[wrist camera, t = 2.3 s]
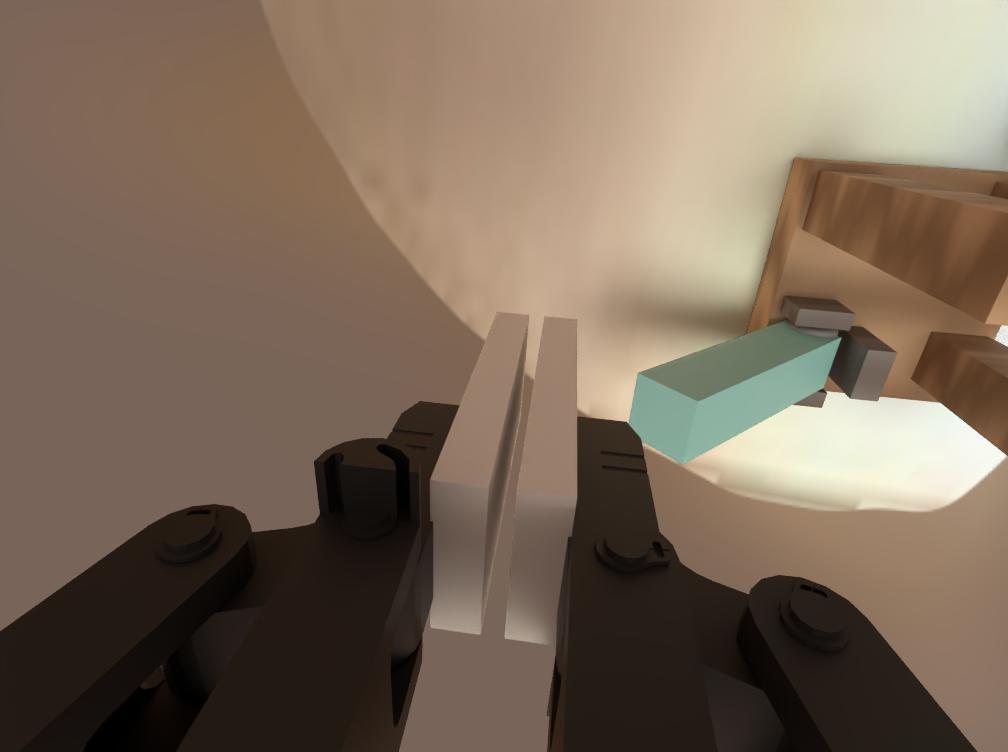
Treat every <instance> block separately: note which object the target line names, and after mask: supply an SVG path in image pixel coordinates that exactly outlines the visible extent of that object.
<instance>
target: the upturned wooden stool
mask: <svg viewBox="0 0 1008 752" xmlns="http://www.w3.org/2000/svg"><path fill="white" fill-rule="evenodd" d="M785 320H788V321H790V322H792V323H793V324H794V325H795V326H805V327H816V328H827V329H837V330H838V331H839V332H838V335H837V336H839V337H842V338H841V340H840V343H839V346H838V349H837V352H836V355H835V357H834V360H833V363H832V366H831V369H830V371H829V374H828V377H827V380H826V383H825V385H824V388H822V389H820V390H818V391H817V392H815V393H813V394H811V395H809V396H807V397H806V398H804V399H802V400H800V401H798V402H796V403H795V404H793V405H800V406H810V407H819V408H822V406H823V403H824V401H825V398H826V395H827V392H826V391H831V392H841V393H845V394H846V395H847V396H848V397H849V398H850V399H860V400H870V401H878V399H879V397H890V398H900V399H910V400H920V401H930V402H940V403H942V404H943V405H944V406H945V407H947V408H948V409H949V410H950V411H952V412H953V413H954V414H955V415H957V416H958V417H959V418H960V419H962V420H963V421H964V422H965V423H967V424H968V425H969V426H971V427H972V428H973V429H974V430H976V431H977V432H978V433H979V434H981V435H982V436H983V437H984V438H986V439H987V440H988V441H989V442H991V443H992V444H993V445H994V446H996V447H997V448H998V449H999V450H1001V451H1002V452H1003V453H1005V454H1006V455H1007V456H1008V347H1007V346H1005V345H1003V344H1001V343H999V342H997V341H995V340H994V339H995V337H996V335H997V333H998V331H999V329H1000V327H1001V325H1007V326H1008V172H1001V171H986V170H971V169H956V168H941V167H926V166H912V165H897V164H882V163H867V162H852V161H837V160H823V159H808V158H794V161H793V165H792V169H791V172H790V176H789V180H788V183H787V187H786V191H785V194H784V198H783V202H782V205H781V209H780V213H779V216H778V220H777V224H776V227H775V231H774V235H773V238H772V242H771V246H770V249H769V253H768V257H767V260H766V264H765V268H764V272H763V275H762V279H761V283H760V286H759V290H758V294H757V297H756V301H755V305H754V308H753V312H752V316H751V319H750V323H749V327H748V330H747V334H749V333H752V332H754V331H757V330H760V329H763V328H766V327H768V326H771V325H774V324H777V323H780V322H782V321H785Z"/></svg>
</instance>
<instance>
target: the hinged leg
mask: <svg viewBox="0 0 1008 752" xmlns="http://www.w3.org/2000/svg"><path fill="white" fill-rule="evenodd" d="M838 332H839V331H838V330H837V329H827V328H816V327H805V326H795V325H794V324H793V323H792V322H790V321H788V320H785V321H782V322H780V323H777V324H774V325H771V326H768V327H766V328H763V329H760V330H757V331H754V332H752V333H749V334H746V335H743V336H740V337H738V338H735V339H732V340H729V341H726V342H724V343H721V344H718V345H715V346H712V347H710V348H707V349H704V350H701V351H698V352H695V353H693V354H690V355H687V356H684V357H681V358H679V359H676V360H673V361H670V362H667V363H665V364H662V365H659V366H656V367H653V368H651V369H648V370H645V371H642V372H639V373H638V375H637V381H636V386H635V391H634V397H633V402H632V408H631V413H630V419H629V425H630V426H631V427H632V429H633V430H634V431H635V432H636V433H637V434H638V435H639V437H640V438H641V441H643V442H644V443H646V444H648V445H650V446H651V447H653V448H655V449H656V450H658V451H660V452H662V453H663V454H665V455H667V456H668V457H670V458H672V459H674V460H675V461H677V462H679V463H680V464H682V465H683V464H685V463H687V462H689V461H691V460H692V459H694V458H696V457H698V456H700V455H702V454H703V453H705V452H707V451H709V450H711V449H712V448H714V447H716V446H718V445H720V444H722V443H723V442H725V441H727V440H729V439H731V438H733V437H734V436H736V435H738V434H740V433H742V432H744V431H745V430H747V429H749V428H751V427H753V426H754V425H756V424H758V423H760V422H762V421H764V420H765V419H767V418H769V417H771V416H773V415H775V414H776V413H778V412H780V411H782V410H784V409H786V408H787V407H789V406H791V405H793V404H795V403H796V402H798V401H800V400H802V399H804V398H806V397H807V396H809V395H811V394H813V393H815V392H817V391H818V390H820V389H822V388H824V385H825V383H826V380H827V377H828V374H829V371H830V369H831V366H832V363H833V360H834V357H835V355H836V352H837V349H838V346H839V343H840V340H841V338H842V337H839V336H837V335H838Z"/></svg>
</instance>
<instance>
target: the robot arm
mask: <svg viewBox="0 0 1008 752" xmlns="http://www.w3.org/2000/svg"><path fill="white" fill-rule="evenodd" d="M528 323H529V315H523V314H513V313H502V312H497V314H496V316H495V319H494V321H493V324H492V326H491V329H490V331H489V334H488V336H487V339H486V341H485V344H484V346H483V349H482V351H481V354H480V356H479V359H478V361H477V364H476V366H475V369H474V371H473V374H472V376H471V379H470V381H469V384H468V386H467V389H466V391H465V394H464V396H463V399H462V401H461V404H460V405H450V404H441V403H432V402H423V401H420V402H418V403H417V404H415V405H414V406H412V407H411V408H409V409H408V410H406V411H405V412H403V413H402V414H401V416H400V417H399V419H398V421H397V422H396V424H395V426H394V428H393V431H392V432H391V433H390V435H389V436H388V438H387V439H384V438H362V439H357V440H352V441H348V442H344V443H341V444H339V445H337V446H335V447H332V448H331V449H328V450H326V451H325V452H324V453H323V454H322V455H320V457H318V458H317V459H316V460H315V461H314V466H315V475H316V484H317V492H318V501H319V509H320V515H319V517H318V518H317V520H316V522H315V523H313V524H310V525H306V526H300V527H295V528H288V529H278V530H269V531H260V532H252V530H251V525H250V523H249V521H248V519H247V517H246V515H245V514H244V513H242V512H241V511H239V510H237V509H235V508H234V507H231V506H224V505H217V504H211V505H201V506H192V507H189V508H186V509H183V510H180V511H177V512H174V513H170V514H168V515H167V516H165V517H163V518H161V519H159V520H158V521H156V522H154V523H152V524H151V525H149V526H147V527H146V528H145V529H143V530H142V531H141V532H139V533H137V534H136V535H135V536H133V537H132V538H131V539H129V540H128V541H126V542H125V543H124V544H122V545H121V546H119V547H118V548H116V549H115V550H114V551H112V552H111V553H110V554H108V555H107V556H105V557H104V558H102V559H101V560H100V561H98V562H97V563H96V564H94V565H93V566H91V567H90V568H88V569H87V570H86V571H84V572H83V573H81V574H80V575H79V576H77V577H76V578H74V579H73V580H72V581H70V582H69V583H67V584H66V585H65V586H63V587H62V588H61V589H59V590H58V591H56V592H55V593H53V594H52V595H51V596H49V597H48V598H46V599H45V600H44V601H42V602H41V603H39V604H38V605H36V606H35V607H34V608H32V609H31V610H29V611H28V612H27V613H26V614H24V615H22V616H21V617H20V618H18V619H17V620H15V621H14V622H13V623H11V624H10V625H8V626H7V627H6V628H4V629H3V630H1V631H0V752H399V748H400V745H401V740H402V737H403V733H404V729H405V725H406V721H407V717H408V714H409V710H410V706H411V702H412V698H413V694H414V691H415V686H416V683H417V679H418V675H419V671H420V667H421V663H422V647H423V646H422V645H423V644H422V634H423V631H424V627H425V624H426V621H427V617H428V614H429V611H430V610H431V611H430V614H431V615H430V616H431V617H430V619H431V622H430V623H431V628H437V629H443V630H451V631H457V632H464V633H471V634H478V635H480V634H481V629H482V624H483V618H484V613H485V607H486V602H487V596H488V591H489V586H490V580H491V575H492V569H493V564H494V559H495V553H496V548H497V542H498V537H499V531H500V526H501V520H502V515H503V510H504V504H505V499H506V494H507V488H508V483H509V477H510V472H511V466H512V461H513V455H514V450H515V445H516V439H517V434H518V429H519V423H520V418H521V408H522V395H523V384H524V372H525V359H526V347H527V335H528ZM505 638H506V639H513V640H519V641H527V642H533V643H540V644H548V645H554V646H555V645H556V656H555V663H554V670H553V676H552V683H551V690H550V697H549V704H548V710H547V716H549V730H548V746H547V752H977V751H976V749H975V748H974V747H973V746H972V745H971V743H970V742H969V741H968V740H967V739H966V737H965V736H964V735H963V734H962V733H961V731H960V730H959V729H958V728H957V726H956V725H955V724H954V723H953V722H952V720H951V719H950V718H949V717H948V716H947V715H946V713H945V712H944V711H943V710H942V708H941V707H940V706H939V705H938V704H937V702H936V701H935V700H934V698H933V697H932V696H931V695H930V694H929V692H928V691H927V690H926V689H925V688H924V686H923V685H922V684H921V683H920V681H919V680H918V679H917V678H916V677H915V675H914V674H913V673H912V672H911V671H910V669H909V668H908V667H907V666H906V665H905V663H904V662H903V661H902V660H901V658H899V656H898V655H897V654H896V652H895V651H894V650H893V649H892V648H891V646H890V645H889V644H888V643H887V641H886V640H885V639H884V638H883V637H882V635H881V634H880V633H879V632H878V631H877V629H876V628H875V627H874V626H873V624H872V623H871V622H870V621H869V620H868V619H867V618H866V617H865V616H864V615H863V614H862V613H861V612H860V611H859V610H858V609H857V608H856V607H855V606H854V605H853V604H851V602H849V601H848V600H847V599H845V598H843V597H842V596H840V595H839V594H837V593H835V592H834V591H832V590H831V589H829V588H827V587H826V586H823V585H820V584H817V583H815V582H812V581H809V580H807V579H804V578H801V577H792V576H783V575H778V576H773V577H769V578H764V579H761V580H760V581H759V582H758V583H757V584H756V585H755V586H754V587H753V588H752V589H751V591H750V594H746V593H743V592H740V591H738V590H735V589H733V588H730V587H727V586H725V585H722V584H719V583H716V582H714V581H711V580H709V579H707V578H705V577H703V576H700V575H699V574H697V573H695V572H693V571H692V570H690V569H689V568H687V567H686V566H684V565H683V564H682V563H681V562H680V561H679V558H678V556H677V554H676V551H675V549H674V547H673V545H672V544H671V543H670V542H669V541H668V540H667V539H666V538H665V537H664V536H663V535H662V534H661V533H660V532H659V528H658V522H657V517H656V513H655V507H654V502H653V497H652V492H651V487H650V482H649V477H648V474H647V467H646V462H645V459H644V452H643V446H642V441H641V438H640V437H639V435H638V434H637V433H636V432H635V431H634V430H633V429H632V427H631V426H630V425H629V424H628V423H627V422H623V421H614V420H605V419H596V418H586V417H577V320H576V319H566V318H555V317H545V316H544V323H543V329H542V335H541V342H540V348H539V354H538V361H537V367H536V373H535V380H534V386H533V392H532V399H531V405H530V412H529V418H528V424H527V430H526V437H525V443H524V449H523V455H522V462H521V468H520V475H519V481H518V487H517V496H516V508H515V519H514V531H513V543H512V556H511V568H510V579H509V591H508V603H507V615H506V627H505Z"/></svg>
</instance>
